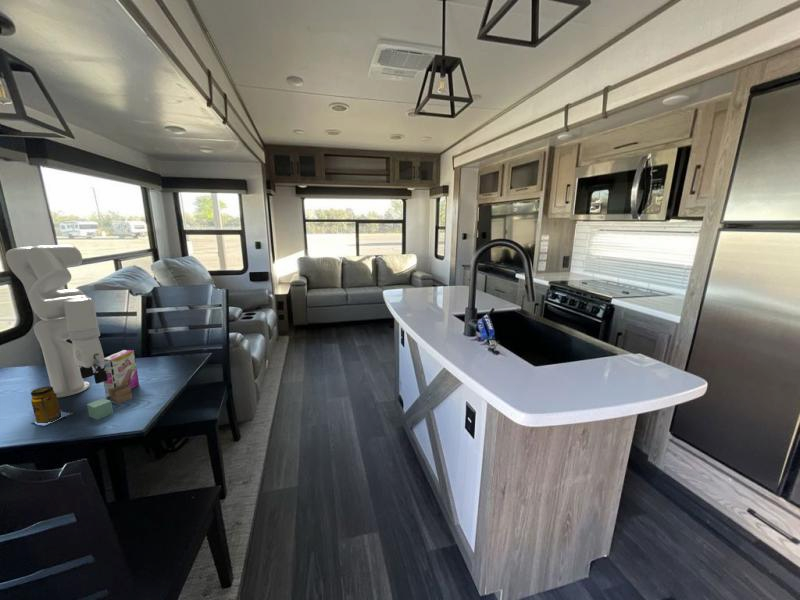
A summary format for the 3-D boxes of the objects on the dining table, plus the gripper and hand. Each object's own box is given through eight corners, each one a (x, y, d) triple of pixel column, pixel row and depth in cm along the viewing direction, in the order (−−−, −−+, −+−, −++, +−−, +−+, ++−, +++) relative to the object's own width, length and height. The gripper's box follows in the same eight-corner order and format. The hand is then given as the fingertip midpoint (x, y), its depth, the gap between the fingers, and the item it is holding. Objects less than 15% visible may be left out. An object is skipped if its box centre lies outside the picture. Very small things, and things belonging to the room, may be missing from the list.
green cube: (89, 416, 118) (86, 404, 116) (106, 409, 122) (103, 397, 121) (96, 420, 115) (93, 407, 114) (113, 413, 120) (110, 401, 119)
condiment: (30, 423, 113) (22, 392, 110) (60, 410, 121) (53, 381, 118) (44, 427, 111) (36, 395, 108) (74, 414, 119) (67, 384, 116)
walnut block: (110, 401, 128) (108, 389, 127) (125, 395, 132) (123, 384, 131) (117, 404, 126) (115, 392, 125) (132, 398, 130) (130, 387, 129)
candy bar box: (117, 398, 130) (110, 360, 126) (105, 397, 130) (98, 359, 127) (140, 385, 141) (134, 349, 137) (129, 384, 141) (123, 349, 137)
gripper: (58, 333, 112) (69, 379, 116) (83, 340, 105) (93, 388, 108) (86, 327, 119) (95, 371, 122) (111, 333, 111) (120, 379, 115)
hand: (94, 379), depth 115 cm, fingers open, 9 cm apart
